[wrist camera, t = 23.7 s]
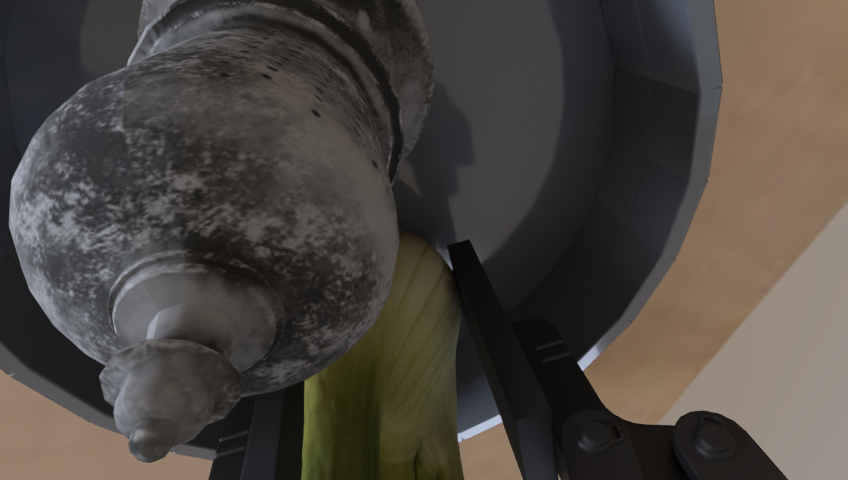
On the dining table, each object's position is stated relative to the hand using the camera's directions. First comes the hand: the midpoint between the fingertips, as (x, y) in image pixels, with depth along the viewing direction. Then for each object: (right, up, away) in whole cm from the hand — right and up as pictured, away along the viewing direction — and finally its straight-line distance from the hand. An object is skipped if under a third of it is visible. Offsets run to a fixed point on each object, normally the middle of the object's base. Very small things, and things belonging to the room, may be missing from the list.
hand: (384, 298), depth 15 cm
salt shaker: (-2, +7, -2) cm, 8 cm away
